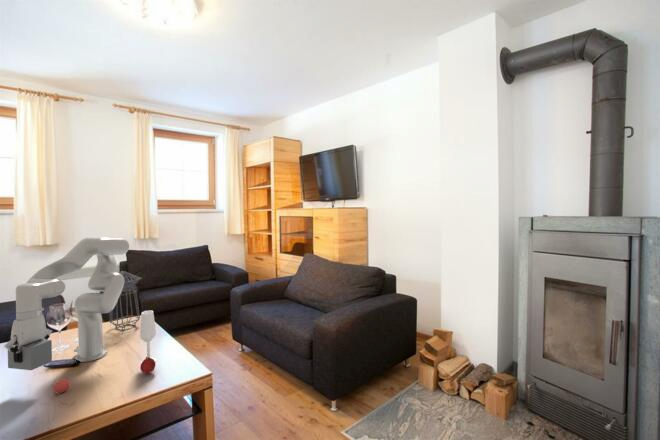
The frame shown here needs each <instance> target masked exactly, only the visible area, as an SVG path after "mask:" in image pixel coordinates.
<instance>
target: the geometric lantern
mask: <svg viewBox="0 0 660 440" xmlns="http://www.w3.org/2000/svg"><path fill="white" fill-rule="evenodd" d="M118 273H119V274H121V275H122V276H123V277H124V286H123V289H122V291H121V293H122V292H125V293H124V294H120V296H119V298H118V299H119V304H118V301H117V303H116V305H115V306H116V319H113V311H114V309H113V310H112V311H110V312H109V323H110V324H112V325H114V326H115V329H116V330H119V331H123V332H124V331H127V330H129V329H134V328H135V327H137V324H136V323H137V322H139V320H141V315H140V309H139V300H138V299H139V298H138V293H137V292H138V290H136V289H135V288H134V286H136V284H138V282H139V281H140V280H142V279H143V278H142V277H140V276H138V275H135V274H133V273H130V272H128V271H126V270H125V271H123V270H121V271H119V272H118ZM126 280H127V281H126ZM126 283H130V285H127V284H126ZM133 285H134V286H133ZM126 288H129V289H126ZM131 291H132V292H131ZM131 294H133V297H134V303H135V311H136V315H137V316H136V315H133V306H132V299H131ZM128 295H129V302H130V303H129V304H130V311H131V315H129V311H128V307H129V306H128ZM121 296H125V298H126V299H125V300H126V316H123V311H122V310H123V309H122V308H123V307H122V299H121ZM118 305H119V307H120V316H121V317H120V318H119V317H118V315H119V314H118V313H119V312H118V309H119V308H118ZM129 317H130V318H129ZM125 318H126V321H124V320H123V319H125ZM128 318H129V319H128ZM133 318H137V319H134V320H132V319H133ZM119 320H121V323H119ZM115 321H116V323H115ZM128 326H132V327H129V328H126V327H128ZM120 328H121V329H120Z"/></svg>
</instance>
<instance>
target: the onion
mask: <svg viewBox="0 0 660 440" xmlns="http://www.w3.org/2000/svg"><path fill="white" fill-rule="evenodd" d="M150 357H151V356H150ZM150 357H147V356H146V357H145V359H144V361H143V360H142V361H143V362H142V361H141V362H142V363H141V362H140V367H139V370H140V371H141V372H142V373H143V374H146V375H149V374H151V373H152V372H153V371H155V368H156V362H155V361H154V360H153V359H152V358H153V357H151V358H150Z"/></svg>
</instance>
